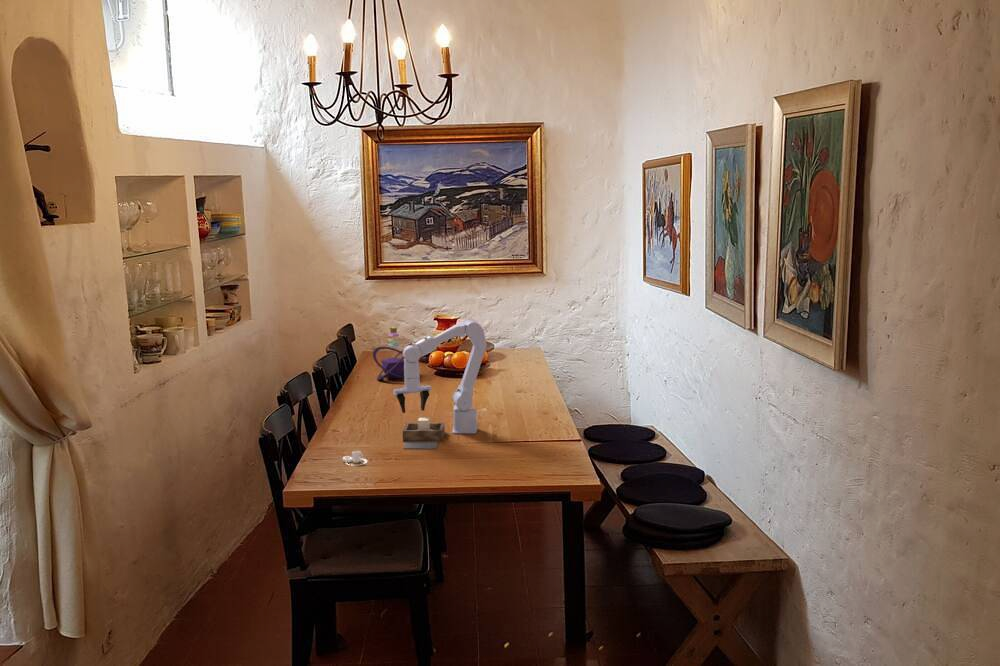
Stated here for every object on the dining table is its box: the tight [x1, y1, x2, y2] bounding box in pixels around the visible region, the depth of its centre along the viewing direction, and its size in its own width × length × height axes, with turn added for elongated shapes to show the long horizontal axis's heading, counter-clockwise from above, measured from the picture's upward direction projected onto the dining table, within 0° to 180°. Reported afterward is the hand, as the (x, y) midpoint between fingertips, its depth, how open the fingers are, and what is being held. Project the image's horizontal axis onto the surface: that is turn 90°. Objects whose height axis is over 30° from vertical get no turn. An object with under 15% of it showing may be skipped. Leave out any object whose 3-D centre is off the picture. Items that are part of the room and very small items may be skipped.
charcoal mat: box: [403, 441, 439, 450], centre depth 341 cm, size 12×8×1 cm, turn 89°
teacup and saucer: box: [342, 450, 369, 467], centre depth 323 cm, size 9×8×4 cm
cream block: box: [417, 417, 431, 430], centre depth 351 cm, size 4×4×5 cm
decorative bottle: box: [372, 326, 405, 381], centre depth 445 cm, size 22×21×25 cm
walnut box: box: [402, 422, 446, 442], centre depth 351 cm, size 15×11×4 cm
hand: (413, 411), depth 352 cm, fingers open, 7 cm apart
